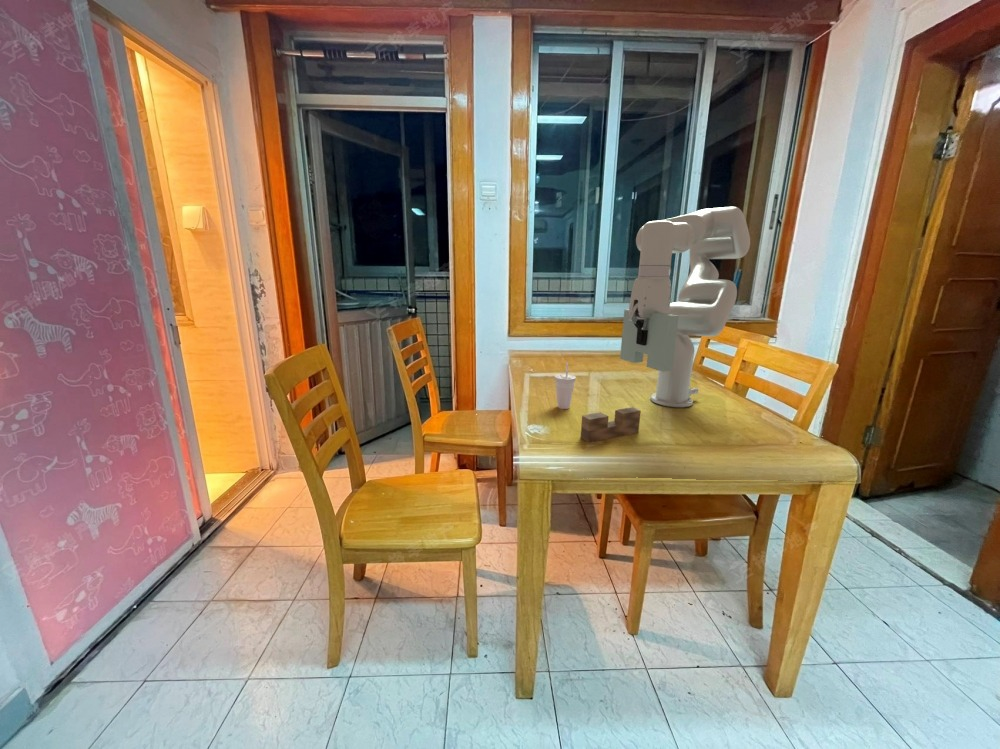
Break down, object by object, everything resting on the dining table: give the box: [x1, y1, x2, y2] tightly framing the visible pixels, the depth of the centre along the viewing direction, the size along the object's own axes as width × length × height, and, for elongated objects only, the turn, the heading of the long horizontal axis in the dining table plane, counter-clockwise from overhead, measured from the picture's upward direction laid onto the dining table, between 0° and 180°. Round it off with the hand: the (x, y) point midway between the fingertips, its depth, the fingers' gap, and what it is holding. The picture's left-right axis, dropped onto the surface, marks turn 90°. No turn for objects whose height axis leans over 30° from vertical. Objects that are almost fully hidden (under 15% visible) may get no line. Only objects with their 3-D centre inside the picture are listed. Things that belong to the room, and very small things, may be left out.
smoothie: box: [554, 362, 577, 410], centre depth 122 cm, size 6×6×14 cm
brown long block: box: [580, 406, 641, 443], centre depth 102 cm, size 16×3×6 cm, turn 114°
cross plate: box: [619, 308, 679, 372], centre depth 107 cm, size 16×3×14 cm, turn 24°
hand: (646, 343), depth 107 cm, fingers closed on cross plate, 3 cm apart
